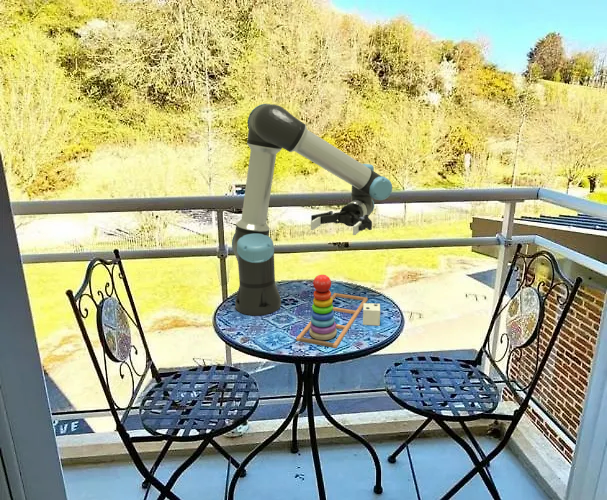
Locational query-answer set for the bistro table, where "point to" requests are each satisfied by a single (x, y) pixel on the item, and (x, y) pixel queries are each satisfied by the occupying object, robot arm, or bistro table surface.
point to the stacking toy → (322, 310)
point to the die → (371, 314)
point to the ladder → (345, 328)
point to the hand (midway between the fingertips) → (332, 228)
